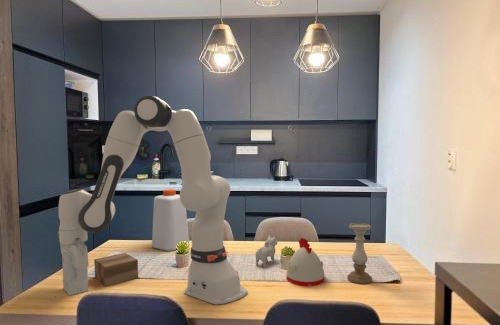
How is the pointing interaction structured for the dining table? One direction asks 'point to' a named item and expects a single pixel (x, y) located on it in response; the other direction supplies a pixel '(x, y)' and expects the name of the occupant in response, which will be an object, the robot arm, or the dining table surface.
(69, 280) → the small box
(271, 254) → the dog figurine
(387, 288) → the dining table surface
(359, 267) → the candle holder
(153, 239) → the plastic bottle
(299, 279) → the kitchen timer
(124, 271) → the walnut block
